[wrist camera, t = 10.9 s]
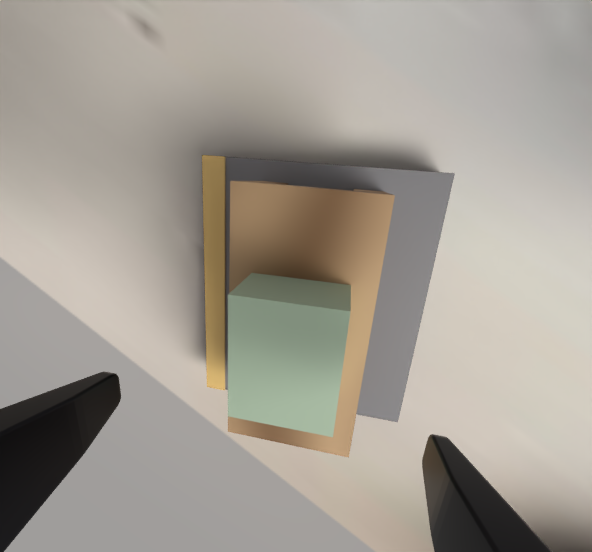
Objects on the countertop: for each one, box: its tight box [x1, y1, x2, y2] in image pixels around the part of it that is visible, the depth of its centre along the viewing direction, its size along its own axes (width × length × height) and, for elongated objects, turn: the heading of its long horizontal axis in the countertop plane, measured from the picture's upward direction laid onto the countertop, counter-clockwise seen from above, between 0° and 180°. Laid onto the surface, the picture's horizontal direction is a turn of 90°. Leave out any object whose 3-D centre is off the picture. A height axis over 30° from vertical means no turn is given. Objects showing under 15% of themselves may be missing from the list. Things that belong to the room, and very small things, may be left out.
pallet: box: [228, 181, 395, 457], centre depth 15 cm, size 6×12×4 cm, turn 175°
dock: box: [202, 155, 455, 422], centre depth 17 cm, size 12×14×2 cm
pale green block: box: [228, 273, 351, 437], centre depth 12 cm, size 4×5×2 cm
